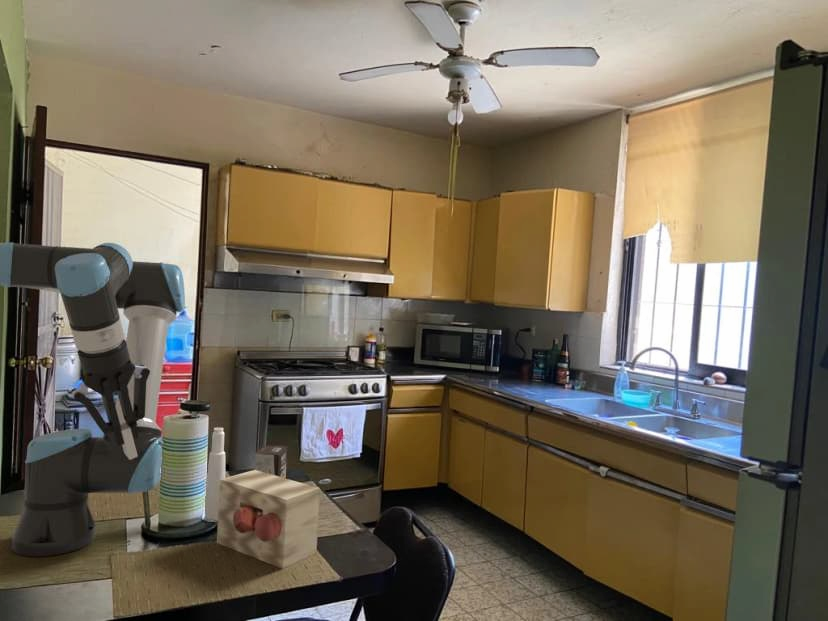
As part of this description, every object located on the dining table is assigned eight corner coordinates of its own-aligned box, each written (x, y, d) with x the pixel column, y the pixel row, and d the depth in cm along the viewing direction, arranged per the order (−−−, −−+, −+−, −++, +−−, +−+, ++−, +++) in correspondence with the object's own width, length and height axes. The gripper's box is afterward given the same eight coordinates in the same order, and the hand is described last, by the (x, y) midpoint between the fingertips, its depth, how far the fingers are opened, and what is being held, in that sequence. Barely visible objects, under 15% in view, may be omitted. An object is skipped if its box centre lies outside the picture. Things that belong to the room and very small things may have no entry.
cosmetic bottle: (231, 518, 143) (236, 429, 143) (208, 524, 138) (213, 432, 138) (219, 512, 147) (223, 424, 147) (196, 517, 142) (200, 427, 142)
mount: (207, 546, 127) (210, 482, 126) (251, 529, 137) (254, 469, 137) (273, 573, 116) (277, 502, 116) (316, 552, 127) (319, 488, 126)
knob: (249, 535, 120) (250, 511, 120) (232, 529, 123) (233, 506, 122) (292, 518, 130) (293, 496, 130) (276, 513, 133) (277, 491, 133)
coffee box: (276, 520, 144) (279, 454, 143) (250, 518, 144) (253, 453, 144) (285, 507, 153) (288, 445, 153) (260, 505, 153) (263, 444, 153)
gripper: (66, 365, 94) (101, 481, 104) (148, 338, 102) (173, 448, 112) (53, 349, 99) (87, 461, 109) (132, 325, 107) (157, 431, 117)
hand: (131, 454), depth 110 cm, fingers closed
